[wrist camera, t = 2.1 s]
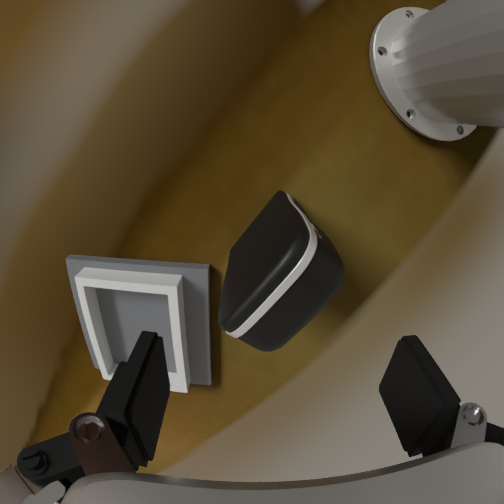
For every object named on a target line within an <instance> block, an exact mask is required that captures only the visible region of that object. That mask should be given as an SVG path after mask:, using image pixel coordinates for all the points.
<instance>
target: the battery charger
mask: <svg viewBox="0 0 504 504" xmlns="http://www.w3.org/2000/svg"><path fill="white" fill-rule="evenodd" d="M343 281H344V266H343V263H342V260H341V258H340V256H339V254H338V252H337V251H336V249H335V247H334V246H333V244H332V243H331V241H330V240H329V238H328V237H327V236H326V235H325V234H324V233H323V232H322V231H321V230H320V229H319V228H318V227H317V226H315V225H314V224H313V223H312V222H311V221H310V220H309V218H308V217H307V216H306V215H305V214H304V211H303V210H302V208H301V207H300V206H299V205H298V203H297V202H296V201H294V200H293V199H292V197H291V196H290V195H289V194H286V193H284V192H283V191H278V192H277V193H276V194H275V195H274V197H273V198H272V199H271V200H270V201H269V203H268V204H267V205H266V206H265V207H264V209H263V210H262V211H261V212H260V214H259V215H258V216H257V217H256V219H255V220H254V221H253V222H252V223H251V225H250V226H249V227H248V228H247V230H246V231H245V232H244V233H243V235H242V236H241V237H240V238H239V240H238V241H237V242H236V243H235V245H234V246H233V247H232V249H231V250H230V256H229V262H228V267H227V271H226V275H225V280H224V284H223V289H222V294H221V300H220V306H219V313H218V323H219V325H220V327H221V328H222V329H224V330H225V331H226V333H227V334H228V335H230V336H232V337H234V338H239V339H240V340H242V341H244V342H245V343H247V344H249V345H251V346H252V347H254V348H256V349H259V350H261V351H269V352H272V351H274V350H277V349H279V348H281V347H282V346H283V345H285V344H286V343H287V342H288V341H289V340H290V339H291V338H292V337H294V336H295V335H296V334H297V333H298V332H299V331H300V330H301V329H302V328H303V327H304V326H305V325H306V324H308V323H309V322H310V321H311V320H312V319H313V318H314V317H315V316H316V315H317V314H318V313H319V312H320V310H321V309H322V308H323V307H324V306H325V305H326V304H327V303H328V302H329V301H330V300H331V299H332V298H333V297H334V296H335V295H336V293H337V292H338V291H339V289H340V287H341V286H342V283H343Z"/></svg>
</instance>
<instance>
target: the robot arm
mask: <svg viewBox="0 0 504 504" xmlns="http://www.w3.org/2000/svg"><path fill="white" fill-rule="evenodd" d="M378 52H380V54H381V55H380V54H379V53H378ZM369 56H370V63H371V69H372V73H373V76H374V79H375V82H376V84H377V87H378V89H379V91H380V93H381V95H382V97H383V98H384V100H385V102H386V103H387V105H388V106H389V108H390V109H391V110H392V111H393V112H394V114H395V115H396V116H397V117H398V118H399V119H400V120H401V121H402V122H403V123H404V124H405V125H406V126H408V127H409V128H410V129H412V130H413V131H415V132H417V133H418V134H420V135H422V136H425V137H427V138H430V139H434V140H440V141H454V140H459V139H462V138H464V137H466V136H468V135H469V134H470V133H471V132H472V131H473V130H474V129H475V128H476V127H477V125H480V126H492V127H501V128H504V0H449V1H447V2H445V3H443V4H442V5H440V6H438V7H436V8H434V9H432V10H430V11H429V10H426V9H423V8H417V7H404V8H400V9H397V10H394V11H392V12H391V13H389V14H388V15H386V16H385V17H384V18H383V19H382V20H381V21H380V22H379V23H378V24H377V26H376V27H375V29H374V31H373V34H372V37H371V41H370V53H369ZM407 113H408V116H407ZM379 392H380V395H381V397H382V399H383V401H384V404H385V406H386V408H387V411H388V413H389V415H390V418H391V420H392V422H393V425H394V427H395V429H396V432H397V434H398V437H399V439H400V442H401V444H402V447H403V449H404V451H407V452H408V455H409V457H412V456H416V455H419V454H421V453H422V455H423V457H422V458H419V459H415V460H412V461H409V462H405V463H401V464H397V465H393V466H389V467H385V468H380V469H376V470H371V471H366V472H361V473H355V474H350V475H343V476H336V477H329V478H322V479H313V480H300V481H283V482H227V481H210V480H197V479H187V478H179V477H171V476H162V475H154V474H145V473H136V472H135V471H138V468H139V466H144V467H147V464H148V460H150V461H152V460H153V458H154V454H155V450H156V446H157V441H158V437H159V433H160V429H161V425H162V421H163V417H164V413H165V409H166V405H167V401H168V397H169V393H170V381H169V376H168V370H167V363H166V357H165V350H164V343H163V338H162V337H161V336H158V333H157V332H151V331H142V332H141V334H140V336H139V338H138V340H137V342H136V344H135V346H134V348H133V350H132V352H131V355H130V357H129V359H128V361H127V362H124V361H121V362H120V363H119V365H118V366H117V368H116V370H115V372H114V375H113V377H112V379H111V381H110V383H109V385H108V387H107V389H106V391H105V394H104V396H103V398H102V400H101V402H100V405H99V407H98V409H97V411H96V413H94V412H85V413H81V414H79V415H77V416H75V417H74V418H73V419H72V420H71V422H70V424H69V427H68V432H67V433H65V434H62V435H59V436H57V437H54V438H51V439H49V440H46V441H43V442H40V443H37V444H34V445H31V446H28V447H26V448H24V449H23V450H22V451H21V452H20V453H19V456H18V458H17V465H15V466H12V465H9V466H8V467H6V468H5V469H4V470H2V471H1V472H0V504H54V503H55V502H61V504H504V428H501V427H499V426H496V425H494V424H491V423H488V422H487V415H486V413H485V411H484V410H483V408H482V407H480V406H479V405H477V404H475V403H465V404H463V405H462V406H460V405H459V403H460V401H461V400H460V398H459V396H458V395H457V393H456V392H455V390H454V389H453V387H452V386H451V384H450V383H449V381H448V380H447V378H446V377H445V375H444V374H443V372H442V371H441V369H440V368H439V366H438V365H437V363H436V362H435V361H434V359H433V358H432V356H431V355H430V354H429V352H428V351H427V349H426V348H425V347H424V345H423V344H422V342H421V341H420V339H419V338H418V337H417V336H416V335H411V336H403V337H402V338H401V340H399V341H398V343H397V346H396V348H395V350H394V353H393V355H392V358H391V360H390V363H389V365H388V368H387V370H386V372H385V374H384V376H383V379H382V381H381V383H380V385H379Z"/></svg>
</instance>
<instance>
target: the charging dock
mask: <svg viewBox="0 0 504 504" xmlns="http://www.w3.org/2000/svg"><path fill="white" fill-rule="evenodd" d="M66 264H67V269H68V274H69V278H70V283H71V288H72V292H73V296H74V300H75V304H76V308H77V312H78V316H79V319H80V323H81V326H82V330H83V333H84V336H85V339H86V343H87V346H88V349H89V352H90V355H91V358H92V361H93V363H94V366H95V368H98V369H100V370H101V373H102V376H103V379H106V380H111V379H112V377H113V375H114V372H115V370H116V368H117V366H118V365H119V363H120V362H121V361H124V362H127V361H128V359H129V357H130V355H131V352H132V350H133V348H134V346H135V344H136V342H137V340H138V338H139V336H140V334H141V332H142V331H151V332H157V333H158V336H161V337H162V338H163V343H164V350H165V357H166V363H167V370H168V376H169V381H170V391H175V392H184V393H188V389H189V384H199V385H210V386H211V383H212V366H211V333H210V264H199V263H182V262H167V261H152V260H137V259H123V258H109V257H95V256H82V255H69V256H68V257H67V258H66Z"/></svg>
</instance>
